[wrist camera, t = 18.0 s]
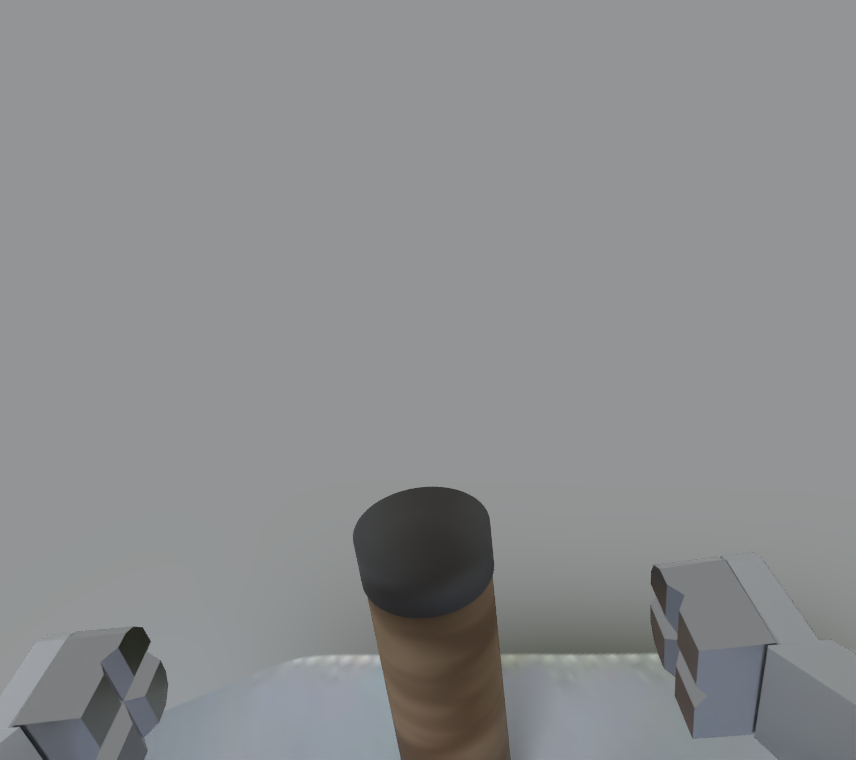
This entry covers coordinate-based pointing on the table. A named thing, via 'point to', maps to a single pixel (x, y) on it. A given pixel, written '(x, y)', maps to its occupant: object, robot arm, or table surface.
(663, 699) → the table surface
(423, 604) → the capped cylinder
